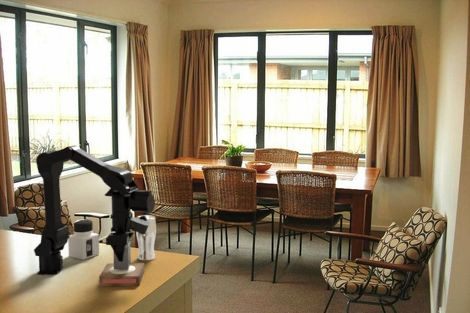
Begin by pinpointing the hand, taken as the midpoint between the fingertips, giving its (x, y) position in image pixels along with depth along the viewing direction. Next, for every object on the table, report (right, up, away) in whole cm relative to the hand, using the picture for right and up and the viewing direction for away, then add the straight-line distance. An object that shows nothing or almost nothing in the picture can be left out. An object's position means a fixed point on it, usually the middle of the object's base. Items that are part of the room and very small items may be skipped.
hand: (122, 258), depth 156 cm
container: (-19, -4, +24) cm, 31 cm away
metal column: (0, -3, 0) cm, 2 cm away
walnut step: (0, -6, +1) cm, 7 cm away
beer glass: (+4, -4, +21) cm, 22 cm away
